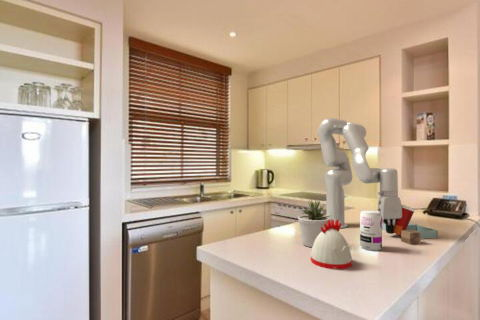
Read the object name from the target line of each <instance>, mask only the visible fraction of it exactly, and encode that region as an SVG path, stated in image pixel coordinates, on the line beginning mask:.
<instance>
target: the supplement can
mask: <svg viewBox="0 0 480 320" xmlns="http://www.w3.org/2000/svg"><path fill="white" fill-rule="evenodd" d="M382 223H383V221H382V215H381V214H380V212H379V211H378V210H371V209H365V210H364V209H362V210H361V211H360V214H359V246H360V247H361V249H364V250H366V251H367V250H368V251H371V252H374V251H377V252H378V251H380V250H381V249H383V230H382Z"/></svg>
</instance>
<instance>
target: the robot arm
mask: <svg viewBox="0 0 480 320" xmlns="http://www.w3.org/2000/svg"><path fill="white" fill-rule="evenodd" d="M317 129H318V130H317V135H318V140H319V143H320V147H321V154H322V159H323V163H324V164H325V166H327V167H329V168H332V169H329V170H327V171H326V172H325V174H324V183H325V184H324V185H325V192H326V193H325V194H326V195H325V196H326V202H325V205H326V213H327V214H326V216H329V217H327V218H328V219H329V220H330V223H331V219H332V220H334V225H335V221H336V220H338V225H339V223H342V224H341V227H340V229H344V228H347V227H348V226H349V225H348V223H346V222H345V216H346V215H345V191H344V187H343V186H347V185H349V184H351V182H352V180H353V173H352V167H353V170H354V172H355V174H356V177H357V178H358V179H359V181H360V182H362V183H363V184H378V183H379V192H378V193H377V194H378V196H379V197H378V200H377V201H378V202H377V211H379V212H380V214H381V215H382V223H384V224H386V231H385V232H386V233H387V234H391V235H393V234H395V233H394V225H395V223H396V221H397V219H400V218H402V205H403V204H402V201H401V198H400V197H399V186H398V185H399V181H398V180H399V179H398V176H399V175H398V170H397V169H396V168H378V167H377V168H376V167H370V165H369V164H368V161H367V159H366V156H367V155H366V154H367V152H368V151H369V145H368V143H367V142H366V139H365V137H366V135H367V129H366V128H365V127H364V125H362V124H358V123H355V122H351V121H347V120H343V119H340V118H339V119H338V118H333V117H331V118H329V117H328V118H325V119H323V120H322V121H321V122H320V124H319V125H318V128H317ZM333 134H334V135H339V136H343V137H344V140H345V142H346V144H347V146H348V148H349V150H350V152H351V155H352V156H351V161H352V162H351V163H352V167H351V163H350V157H349V156H348V154H347V153H346V152H345V151H343V150H338V146H337V141H336V139H335V138H334V136H333ZM330 215H332V216H330Z"/></svg>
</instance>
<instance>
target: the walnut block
mask: <svg viewBox="0 0 480 320" xmlns="http://www.w3.org/2000/svg"><path fill="white" fill-rule="evenodd" d="M400 238H401V240H400V241H401V242H403V243H405V244H407V245H409V246H410V245H411V246H412V245H421V239H420V232H416V231H413V230H401V236H400Z"/></svg>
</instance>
